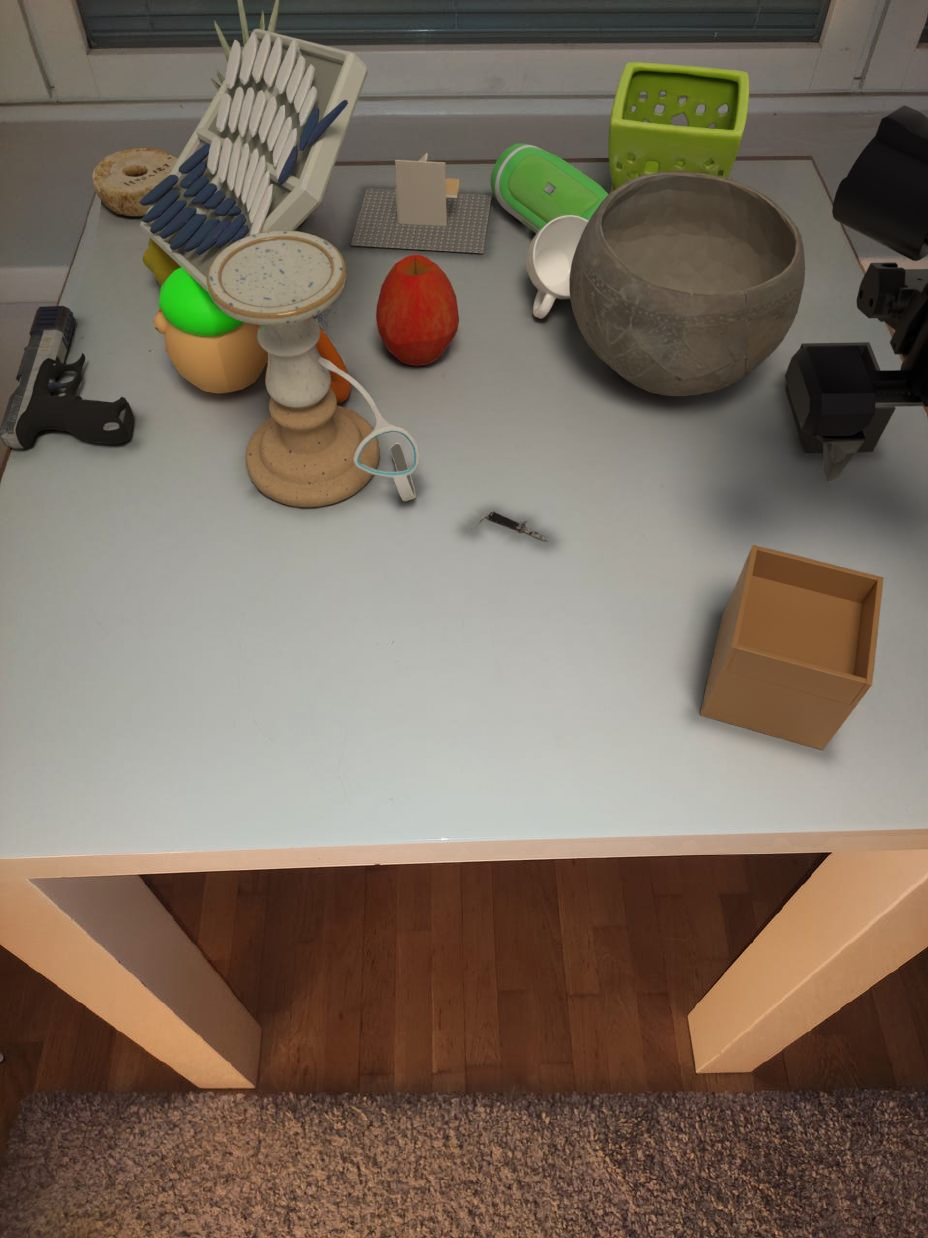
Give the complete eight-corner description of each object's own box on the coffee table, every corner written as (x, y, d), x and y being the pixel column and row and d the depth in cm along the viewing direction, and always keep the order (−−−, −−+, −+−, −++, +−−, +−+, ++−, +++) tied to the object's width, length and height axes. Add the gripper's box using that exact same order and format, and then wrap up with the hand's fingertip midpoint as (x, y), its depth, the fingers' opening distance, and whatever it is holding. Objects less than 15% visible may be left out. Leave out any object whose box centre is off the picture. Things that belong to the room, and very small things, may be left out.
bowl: (813, 372, 91) (868, 236, 78) (663, 466, 84) (697, 334, 71) (666, 269, 100) (694, 133, 88) (519, 346, 93) (527, 210, 81)
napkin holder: (401, 205, 107) (397, 143, 101) (460, 209, 107) (459, 146, 100) (397, 223, 105) (393, 160, 99) (457, 226, 105) (456, 163, 98)
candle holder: (313, 393, 89) (278, 202, 73) (407, 452, 85) (392, 262, 68) (219, 465, 84) (157, 277, 67) (314, 531, 80) (273, 347, 63)
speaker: (628, 196, 93) (578, 254, 94) (648, 235, 99) (600, 289, 101) (521, 123, 101) (476, 178, 102) (546, 164, 107) (503, 215, 109)
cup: (597, 248, 98) (619, 237, 92) (559, 336, 99) (578, 331, 93) (534, 214, 96) (552, 200, 90) (496, 305, 97) (511, 297, 91)
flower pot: (725, 180, 110) (753, 69, 99) (716, 249, 102) (745, 136, 92) (610, 166, 111) (625, 55, 101) (592, 232, 104) (607, 120, 93)
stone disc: (204, 195, 109) (158, 166, 113) (196, 164, 106) (149, 135, 110) (129, 230, 104) (84, 198, 109) (118, 199, 101) (73, 168, 106)
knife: (537, 559, 79) (553, 534, 80) (537, 557, 78) (553, 531, 80) (471, 530, 80) (487, 505, 82) (471, 527, 80) (487, 502, 81)
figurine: (297, 366, 92) (276, 262, 82) (238, 426, 87) (209, 323, 77) (208, 330, 95) (177, 225, 85) (146, 386, 90) (106, 282, 80)
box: (836, 650, 73) (883, 577, 65) (823, 750, 68) (872, 685, 60) (721, 619, 75) (752, 544, 67) (700, 715, 70) (731, 646, 62)
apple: (474, 361, 92) (475, 268, 83) (402, 389, 90) (394, 297, 81) (436, 315, 96) (433, 222, 87) (365, 341, 94) (355, 248, 85)
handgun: (131, 449, 86) (1, 456, 85) (155, 318, 97) (41, 324, 96) (120, 425, 83) (-13, 432, 83) (147, 293, 94) (29, 299, 94)
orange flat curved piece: (333, 362, 93) (232, 255, 82) (347, 353, 93) (246, 244, 81) (346, 424, 87) (239, 318, 76) (361, 415, 87) (254, 307, 76)
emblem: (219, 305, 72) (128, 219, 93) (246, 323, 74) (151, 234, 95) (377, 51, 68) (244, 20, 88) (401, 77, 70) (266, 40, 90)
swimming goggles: (310, 363, 72) (375, 338, 71) (320, 352, 80) (379, 330, 79) (377, 525, 77) (438, 502, 77) (380, 500, 85) (436, 480, 84)
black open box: (873, 451, 85) (896, 408, 81) (804, 453, 85) (824, 409, 81) (849, 386, 90) (869, 341, 85) (784, 387, 90) (801, 343, 85)
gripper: (1097, 209, 58) (981, 396, 71) (803, 214, 57) (741, 400, 71) (1177, 325, 52) (1033, 506, 65) (848, 330, 51) (771, 511, 64)
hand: (890, 476), depth 66 cm, fingers open, 9 cm apart
